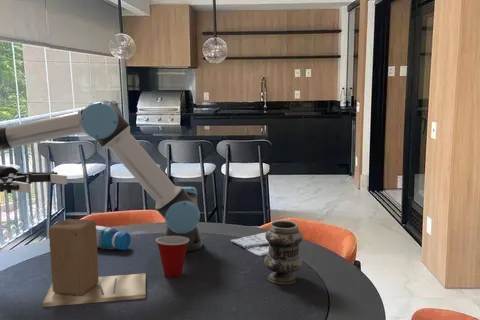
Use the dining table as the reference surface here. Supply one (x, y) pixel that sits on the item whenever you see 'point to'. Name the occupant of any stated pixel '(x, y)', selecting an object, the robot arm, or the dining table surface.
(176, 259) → the plastic cup
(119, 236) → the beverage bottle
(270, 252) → the apothecary jar
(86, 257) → the wooden block
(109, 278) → the board
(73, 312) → the dining table surface
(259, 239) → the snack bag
